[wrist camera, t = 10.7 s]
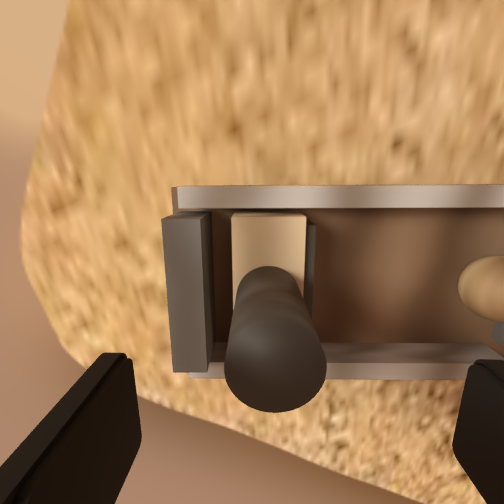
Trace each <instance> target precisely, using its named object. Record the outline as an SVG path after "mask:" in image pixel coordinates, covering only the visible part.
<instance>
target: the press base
mask: <svg viewBox="0 0 504 504" xmlns="http://www.w3.org/2000/svg"><path fill="white" fill-rule="evenodd" d="M171 189H172V204H173V215H170V216H168V217H165V218H163V219H161V222H162V234H163V247H164V260H165V273H166V286H167V299H168V312H169V325H170V338H171V351H172V364H173V372H187V373H189V378H204V379H225V374H224V362H225V356H226V350H227V345H228V339H229V333H230V328H231V322H232V316H233V271H232V224H231V217H232V216H233V214H234V213H235V211H299V212H300V213H302V214H303V215H304V216H306V220H310V221H311V222H312V223H313V224H315V225H316V239H315V260H314V281H313V302H312V323H313V325H314V328H315V330H316V333H317V335H318V338H319V341H320V343H321V346H322V348H323V351H324V354H325V357H326V362H327V372H326V377H325V379H368V380H466V376H467V371H468V368H469V366H470V365H473V364H474V362H475V361H476V360H478V359H497V360H504V358H503V357H504V184H465V185H226V186H178V187H171Z"/></svg>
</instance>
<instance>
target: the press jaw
mask: <svg viewBox="0 0 504 504" xmlns="http://www.w3.org/2000/svg"><path fill="white" fill-rule="evenodd" d="M231 224H232V271H233V316H232V322H231V328H230V333H229V339H228V345H227V350H226V356H225V362H224V374H225V379H226V382H227V384H228V386H229V388H230V390H231V391H232V393H233V394H234V395H235V396H236V397H237V398H238V399H239V400H240V401H241V402H243V403H244V404H246V405H247V406H249V407H251V408H254V409H256V410H260V411H264V412H272V413H278V412H286V411H290V410H294V409H296V408H299V407H301V406H303V405H305V404H306V403H307V402H309V401H310V400H311V399H312V398H314V397H315V395H316V394H317V393H318V392H319V390H320V389H321V387H322V385H323V383H324V381H325V377H326V372H327V362H326V357H325V354H324V351H323V348H322V346H321V343H320V341H319V338H318V335H317V333H316V330H315V328H314V325H313V323H312V302H313V281H314V260H315V239H316V225H315V224H313V223H312V222H311V221H310V220H306V216H304V215H303V214H302V213H300V212H299V211H235V213H234V214H233V216H232V217H231Z"/></svg>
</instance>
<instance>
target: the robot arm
mask: <svg viewBox="0 0 504 504" xmlns="http://www.w3.org/2000/svg"><path fill="white" fill-rule="evenodd" d="M141 438H142V433H141V425H140V417H139V409H138V401H137V393H136V385H135V377H134V369H133V362H132V360H131V359H130V358H127V356H126V354H124V353H102V354H101V355H100V356H99V357H98V358H97V359H96V360H95V362H94V363H93V364H92V365H91V366H90V367H89V368H88V369H87V371H86V372H85V373H84V374H83V375H82V376H81V377H80V378H79V379H78V381H77V382H76V383H75V384H74V385H73V386H72V387H71V388H70V390H69V391H68V392H67V393H66V394H65V395H64V396H63V397H62V398H61V400H60V401H59V402H58V403H57V404H56V405H55V406H54V407H53V409H52V410H51V411H50V412H49V413H48V414H47V415H46V416H45V417H44V419H43V420H42V421H41V422H40V423H39V424H38V425H37V426H36V428H35V429H34V430H33V431H32V432H31V433H30V434H29V435H28V437H27V438H26V439H25V440H24V441H23V442H22V443H21V444H20V445H19V447H18V448H17V449H16V450H15V451H14V452H13V453H12V454H11V455H10V457H9V458H8V459H7V460H6V461H5V462H4V463H3V464H2V465H1V467H0V504H115V502H116V499H117V497H118V495H119V493H120V490H121V488H122V486H123V484H124V482H125V479H126V477H127V475H128V473H129V470H130V468H131V466H132V464H133V461H134V459H135V457H136V455H137V452H138V450H139V448H140V444H141ZM452 446H453V451H454V454H455V457H456V458H457V460H458V462H459V463H460V465H461V466H462V468H463V469H464V471H465V472H466V473H467V475H468V476H469V478H470V479H471V481H472V482H473V484H474V485H475V487H476V488H477V490H478V491H479V493H480V494H481V496H482V497H483V499H484V500H485V502H486V503H487V504H504V360H497V359H478V360H476V361H475V362H474V364H473V365H470V366H469V368H468V371H467V376H466V381H465V386H464V390H463V395H462V400H461V404H460V409H459V414H458V419H457V423H456V428H455V433H454V438H453V443H452Z"/></svg>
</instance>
